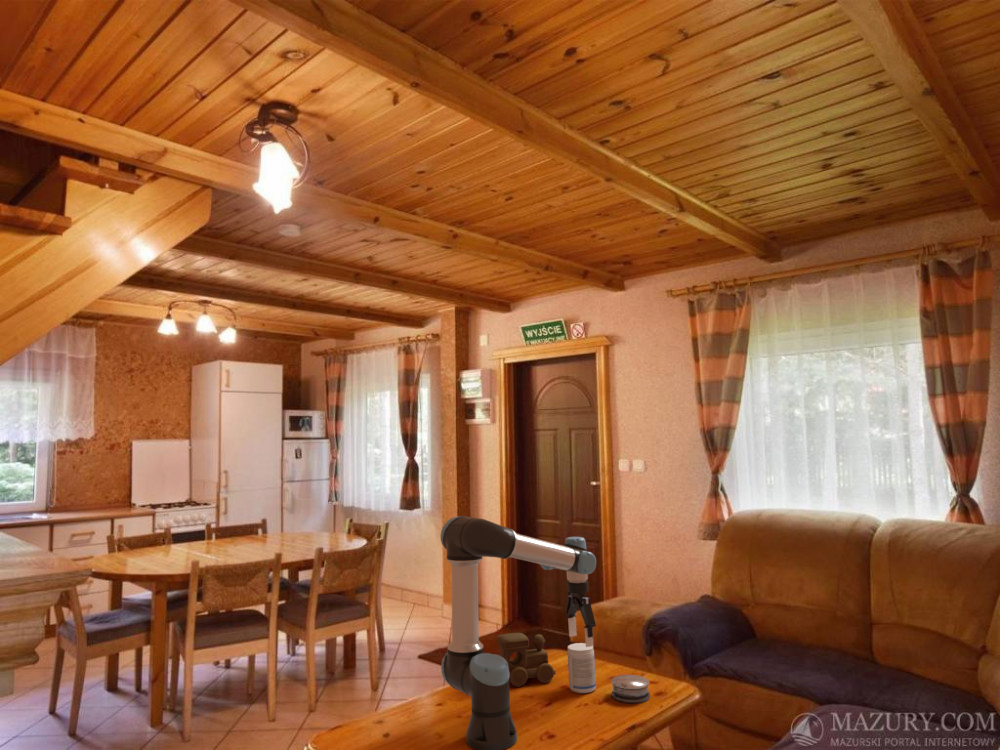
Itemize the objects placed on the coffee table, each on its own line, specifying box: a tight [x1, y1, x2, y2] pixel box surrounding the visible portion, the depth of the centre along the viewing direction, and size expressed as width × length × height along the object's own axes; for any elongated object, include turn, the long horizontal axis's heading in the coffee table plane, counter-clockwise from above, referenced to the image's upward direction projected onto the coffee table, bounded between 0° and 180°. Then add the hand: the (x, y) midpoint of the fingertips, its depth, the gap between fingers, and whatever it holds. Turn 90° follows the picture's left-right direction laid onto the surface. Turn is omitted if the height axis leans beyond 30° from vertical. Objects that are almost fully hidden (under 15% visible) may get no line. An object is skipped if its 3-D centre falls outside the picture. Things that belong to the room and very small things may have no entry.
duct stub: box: [610, 674, 651, 705], centre depth 227 cm, size 13×13×5 cm
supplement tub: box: [566, 642, 597, 694], centre depth 235 cm, size 10×10×15 cm
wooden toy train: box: [496, 632, 557, 688], centre depth 246 cm, size 20×11×17 cm, turn 106°
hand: (581, 641), depth 237 cm, fingers open, 13 cm apart
